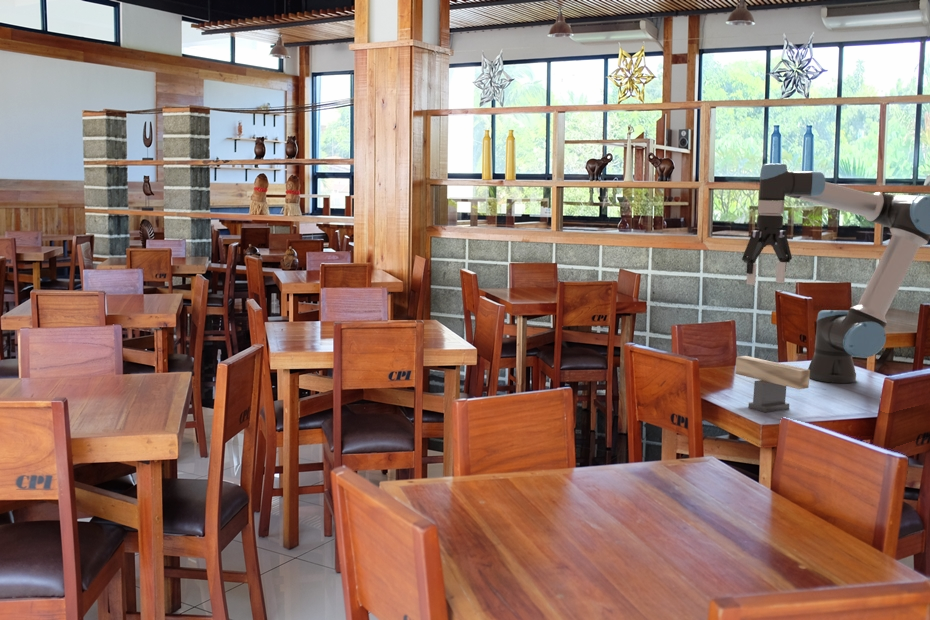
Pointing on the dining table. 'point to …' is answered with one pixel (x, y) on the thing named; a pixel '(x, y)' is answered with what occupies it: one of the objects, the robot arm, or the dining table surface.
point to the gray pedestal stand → (768, 397)
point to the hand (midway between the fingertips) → (765, 283)
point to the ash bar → (772, 372)
